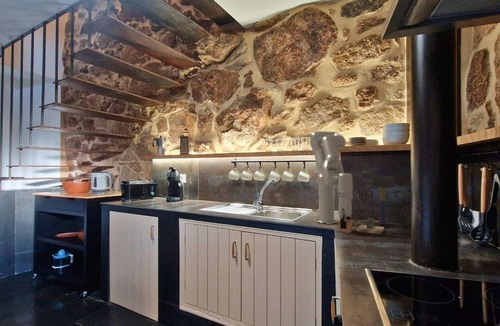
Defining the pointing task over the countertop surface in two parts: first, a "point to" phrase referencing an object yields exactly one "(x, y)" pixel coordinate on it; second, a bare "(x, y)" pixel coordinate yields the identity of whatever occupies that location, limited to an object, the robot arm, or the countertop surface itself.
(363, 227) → the post base
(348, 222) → the orange brown cube
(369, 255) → the countertop surface
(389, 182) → the rubber mallet
